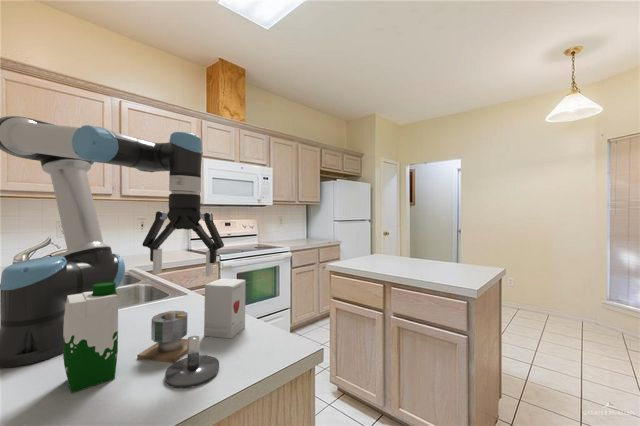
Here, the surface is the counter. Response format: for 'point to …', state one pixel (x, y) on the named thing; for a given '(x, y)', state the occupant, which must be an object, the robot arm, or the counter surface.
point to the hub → (192, 367)
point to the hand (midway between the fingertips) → (183, 274)
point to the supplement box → (224, 307)
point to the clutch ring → (169, 327)
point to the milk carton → (91, 336)
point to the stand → (165, 348)
